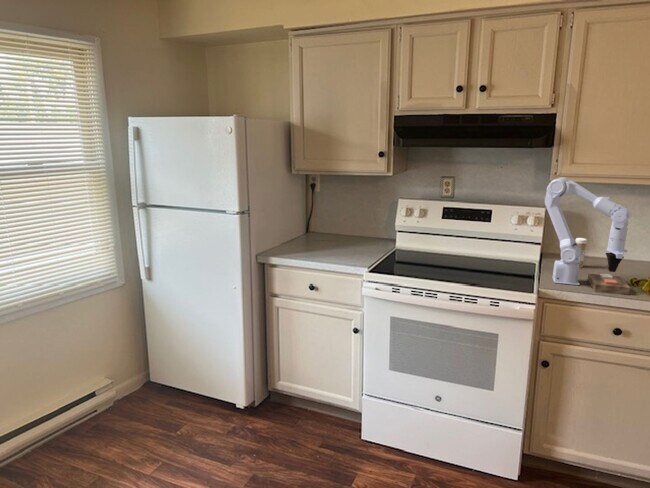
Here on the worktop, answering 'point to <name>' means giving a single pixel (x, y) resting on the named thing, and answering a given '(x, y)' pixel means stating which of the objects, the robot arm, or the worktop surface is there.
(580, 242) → the sprinkles bottle
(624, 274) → the worktop surface
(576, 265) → the robot arm
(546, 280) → the worktop surface
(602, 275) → the white key
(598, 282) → the key box
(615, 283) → the red key
